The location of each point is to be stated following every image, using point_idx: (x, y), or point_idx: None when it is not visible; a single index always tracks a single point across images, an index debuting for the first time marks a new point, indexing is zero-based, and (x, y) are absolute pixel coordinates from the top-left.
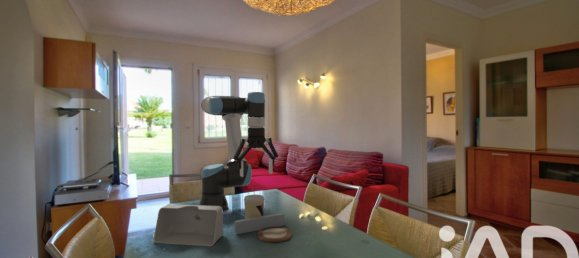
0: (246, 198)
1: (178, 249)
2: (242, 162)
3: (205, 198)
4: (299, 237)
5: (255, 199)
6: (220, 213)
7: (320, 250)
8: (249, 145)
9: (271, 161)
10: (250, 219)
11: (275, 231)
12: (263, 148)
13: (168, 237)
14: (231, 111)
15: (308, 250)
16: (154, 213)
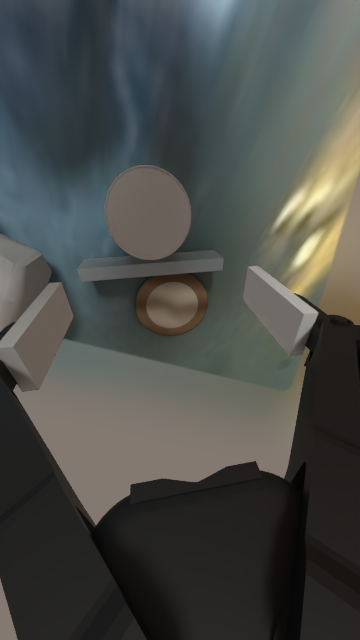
0: (114, 222)
1: None
2: (34, 385)
3: None
4: (210, 326)
5: (146, 258)
6: (22, 311)
7: (213, 369)
8: (55, 568)
9: (285, 345)
10: (123, 275)
11: (176, 300)
12: (292, 463)
13: None
14: None
15: (198, 366)
16: None
